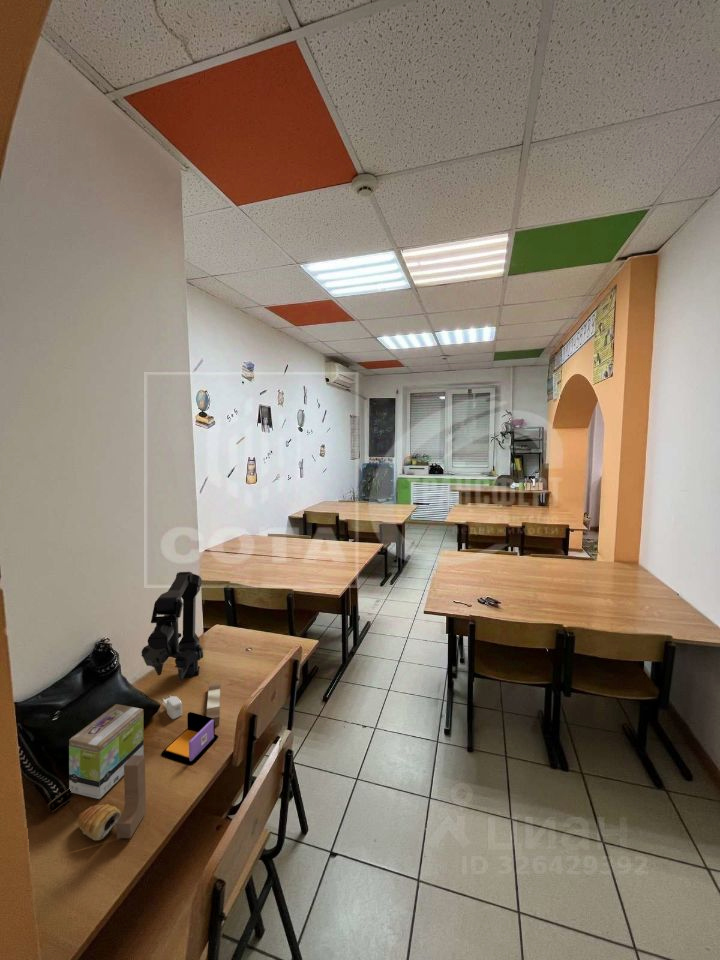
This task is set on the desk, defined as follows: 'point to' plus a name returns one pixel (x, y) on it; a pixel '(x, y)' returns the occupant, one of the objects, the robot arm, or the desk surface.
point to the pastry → (98, 820)
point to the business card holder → (192, 740)
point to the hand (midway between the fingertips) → (170, 677)
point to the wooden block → (133, 796)
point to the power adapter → (173, 706)
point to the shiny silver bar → (214, 702)
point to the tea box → (104, 750)
